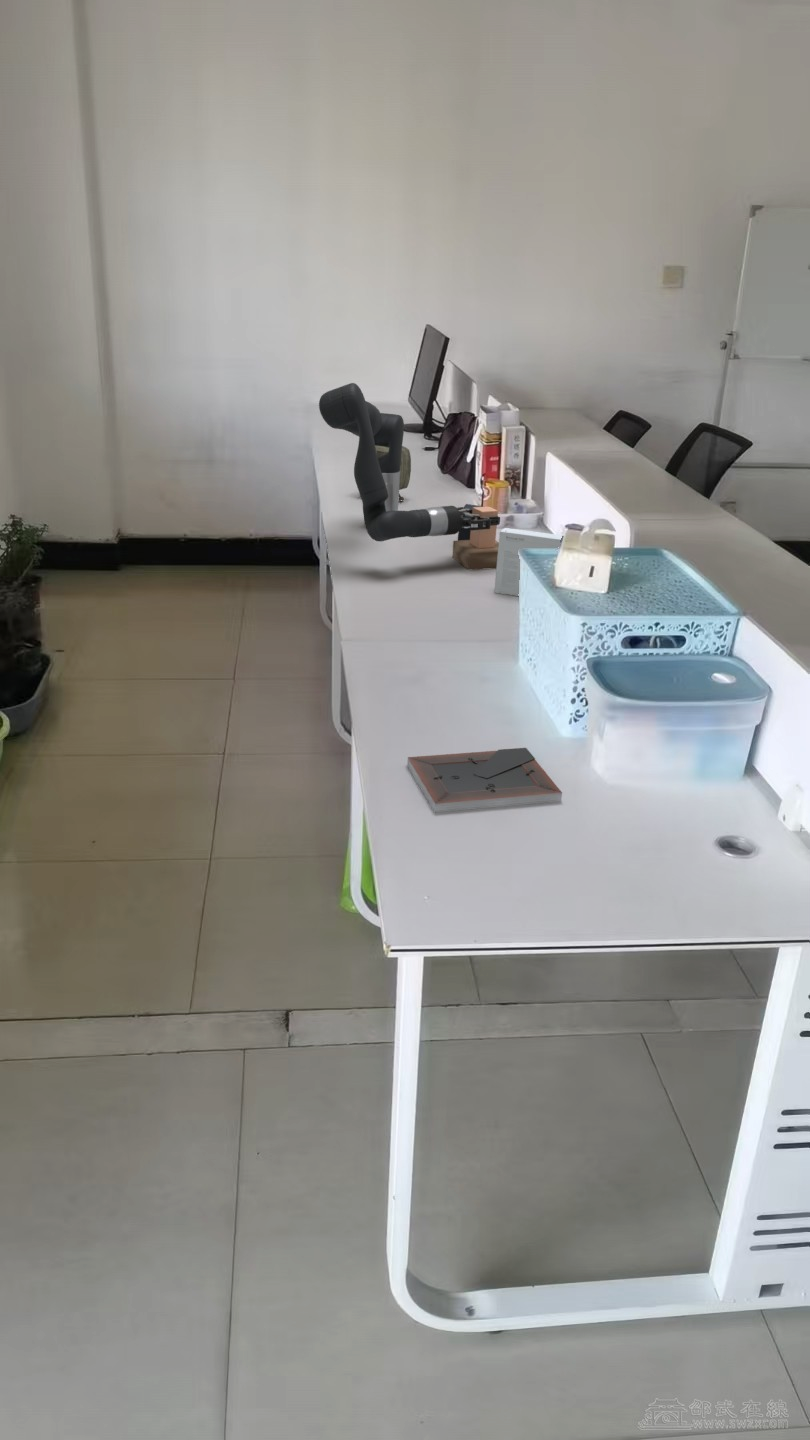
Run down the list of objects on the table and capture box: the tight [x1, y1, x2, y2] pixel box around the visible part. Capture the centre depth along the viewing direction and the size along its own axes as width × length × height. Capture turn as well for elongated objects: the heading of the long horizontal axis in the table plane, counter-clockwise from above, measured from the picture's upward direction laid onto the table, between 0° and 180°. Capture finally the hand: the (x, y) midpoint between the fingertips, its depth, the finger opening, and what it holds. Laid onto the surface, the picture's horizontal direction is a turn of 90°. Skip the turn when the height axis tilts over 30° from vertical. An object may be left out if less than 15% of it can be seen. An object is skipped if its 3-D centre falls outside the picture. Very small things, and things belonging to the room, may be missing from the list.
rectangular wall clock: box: [406, 747, 563, 813], centre depth 184 cm, size 16×2×22 cm
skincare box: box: [493, 527, 564, 597], centre depth 275 cm, size 21×6×16 cm, turn 71°
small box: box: [457, 503, 485, 541], centre depth 316 cm, size 11×6×10 cm, turn 168°
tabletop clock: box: [375, 445, 412, 500], centre depth 355 cm, size 14×9×25 cm, turn 58°
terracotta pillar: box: [470, 506, 499, 548], centre depth 299 cm, size 5×5×10 cm
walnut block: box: [451, 539, 499, 570], centre depth 302 cm, size 12×12×5 cm
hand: (490, 516), depth 298 cm, fingers open, 8 cm apart
